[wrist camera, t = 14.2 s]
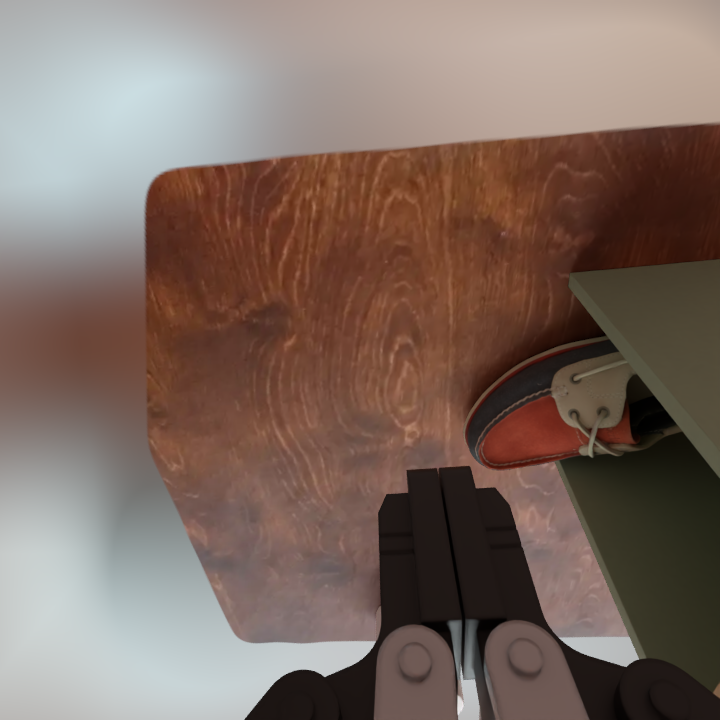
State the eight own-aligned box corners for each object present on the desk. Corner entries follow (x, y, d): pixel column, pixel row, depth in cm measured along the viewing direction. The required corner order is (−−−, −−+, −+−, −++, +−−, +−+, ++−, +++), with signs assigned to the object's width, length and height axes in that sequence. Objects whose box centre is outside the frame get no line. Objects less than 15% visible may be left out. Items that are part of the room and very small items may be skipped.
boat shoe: (438, 393, 45) (451, 459, 38) (761, 250, 37) (854, 300, 30) (480, 459, 50) (498, 529, 42) (777, 344, 41) (861, 407, 34)
